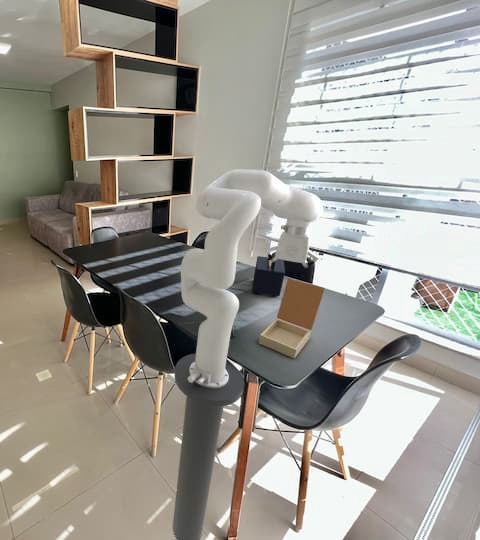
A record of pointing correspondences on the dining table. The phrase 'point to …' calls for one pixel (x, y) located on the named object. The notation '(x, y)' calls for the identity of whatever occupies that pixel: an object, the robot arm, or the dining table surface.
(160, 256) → the dining table surface
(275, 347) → the open wooden box
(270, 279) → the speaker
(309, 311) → the cover
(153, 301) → the dining table surface
